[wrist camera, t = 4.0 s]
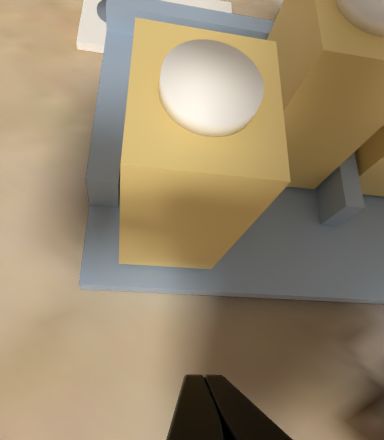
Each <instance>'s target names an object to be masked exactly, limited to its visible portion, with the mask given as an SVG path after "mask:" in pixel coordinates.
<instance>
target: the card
mask: <svg viewBox="0 0 384 440" xmlns="http://www.w3.org/2000/svg"><path fill="white" fill-rule="evenodd" d="M161 1H166V2H172V3H177V4H183V5H188V6H194V7H199V8H205V9H210V10H216V11H221V12H227V13H232V4H231V3H230V2H225V1H220V0H161ZM106 31H107V27H106V0H84V2H83V8H82V13H81V19H80V24H79V30H78V35H77V41H76V42H77V49H79V50H86V51H92V52H99V53H103V52H104V45H105V38H106Z"/></svg>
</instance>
